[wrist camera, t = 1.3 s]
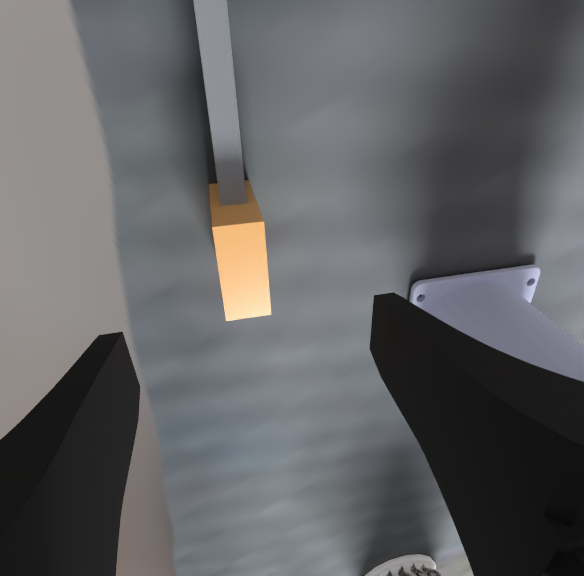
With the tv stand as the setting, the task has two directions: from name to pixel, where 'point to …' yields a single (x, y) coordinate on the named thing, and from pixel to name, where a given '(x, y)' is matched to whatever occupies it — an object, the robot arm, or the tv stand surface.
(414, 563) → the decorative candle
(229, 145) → the grey handled mallet
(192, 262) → the tv stand surface
